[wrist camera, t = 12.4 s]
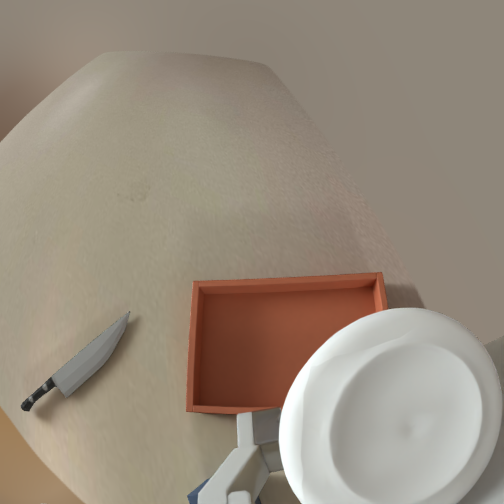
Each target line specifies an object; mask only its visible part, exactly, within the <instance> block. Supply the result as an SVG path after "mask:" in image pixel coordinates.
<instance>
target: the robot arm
mask: <svg viewBox="0 0 504 504" xmlns="http://www.w3.org/2000/svg"><path fill="white" fill-rule="evenodd" d="M281 413H282V412H281V408H280V407H274V408H269V409H263V410H257V411H252V412H246V413H239V414H238V415H237V435H238V448H235V449H233V450H232V452H231V453H230V454H229V456H228V457H227V458H226V460H225V461H224V462H223V463H222V465H221V466H220V467H219V469H218V470H217V471H216V472H215V474H214V475H213V476H212V477H211V479H210V480H209V481H208V482H207V483H206V485H205V486H204V487H203V488H202V489H201V491H200V492H199V493H198V504H255V500H256V499H257V497H258V495H259V493H260V491H261V490H262V488H263V486H264V484H265V482H266V480H267V478H268V477H269V475H270V473H271V472H276V471H280V470H284V468H283V464H282V460H281V454H280V447H279V426H280V418H281ZM457 504H504V392H502V418H501V426H500V431H499V436H498V439H497V442H496V445H495V448H494V451H493V454H492V456H491V458H490V461H489V463H488V465H487V466H486V468H485V470H484V471H483V473H482V474H481V476H480V477H479V479H478V481H477V482H476V483H475V484H474V486H473V487H472V488H471V489H470V491H469V492H468V493H467V494H466V495H465V496H464V497H463V498H462V499H461V500H460V501H459V502H458V503H457Z"/></svg>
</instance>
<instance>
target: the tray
mask: <svg viewBox="0 0 504 504" xmlns="http://www.w3.org/2000/svg"><path fill="white" fill-rule="evenodd" d="M383 310H388V304H387V297H386V291H385V285H384V280H383V274H382V272H377V273H360V274H344V275H327V276H308V277H288V278H265V279H240V280H211V281H193V289H192V302H191V315H190V331H189V347H188V367H187V392H186V412H198V413H215V414H239V413H246V412H252V411H257V410H263V409H269V408H274V407H280V408H281V412H282V409H283V406H284V403H285V400H286V397H287V395H288V392H289V390H290V388H291V386H292V384H293V382H294V380H295V379H296V377H297V375H298V374H299V372H300V371H301V369H302V368H303V367H304V365H305V364H306V363H307V361H308V360H309V359H310V358H311V357H312V355H313V354H314V353H315V352H316V351H317V350H318V349H319V348H320V347H321V346H322V345H323V344H324V343H325V342H326V341H327V340H328V339H329V338H331V337H332V336H333V335H334V334H335V333H337V332H338V331H340V330H341V329H343V328H345V327H346V326H348V325H349V324H351V323H353V322H355V321H357V320H358V319H360V318H363V317H365V316H367V315H371V314H374V313H377V312H380V311H383Z"/></svg>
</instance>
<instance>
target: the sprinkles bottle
mask: <svg viewBox="0 0 504 504" xmlns="http://www.w3.org/2000/svg"><path fill="white" fill-rule="evenodd" d="M501 418H502V391H501V386H500V381H499V377H498V373H497V370H496V368H495V365H494V363H493V361H492V359H491V357H490V355H489V353H488V352H487V350H486V349H485V347H484V346H483V344H482V343H481V341H480V340H479V339H478V338H477V337H476V336H475V335H474V334H473V333H472V332H471V331H470V330H469V329H468V328H466V327H465V326H464V325H462V324H461V323H460V322H458V321H457V320H455V319H453V318H450V317H448V316H446V315H444V314H442V313H439V312H435V311H432V310H427V309H422V308H395V309H388V310H383V311H380V312H377V313H374V314H371V315H367V316H365V317H363V318H360V319H358V320H357V321H355V322H353V323H351V324H349V325H348V326H346V327H345V328H343V329H341V330H340V331H338V332H337V333H335V334H334V335H333V336H332V337H331V338H329V339H328V340H327V341H326V342H325V343H324V344H323V345H322V346H321V347H320V348H319V349H318V350H317V351H316V352H315V353H314V354H313V355H312V357H311V358H310V359H309V360H308V361H307V363H306V364H305V365H304V367H303V368H302V369H301V371H300V372H299V374H298V375H297V377H296V379H295V380H294V382H293V384H292V386H291V388H290V390H289V392H288V395H287V397H286V400H285V403H284V406H283V409H282V413H281V418H280V426H279V447H280V454H281V460H282V464H283V468H284V471H285V474H286V477H287V480H288V482H289V484H290V486H291V488H292V490H293V492H294V493H295V495H296V496H297V498H298V499H299V501H300V502H301V503H302V504H457V503H458V502H459V501H460V500H461V499H462V498H463V497H464V496H465V495H466V494H467V493H468V492H469V491H470V489H471V488H472V487H473V486H474V484H475V483H476V482H477V481H478V479H479V477H480V476H481V474H482V473H483V471H484V470H485V468H486V466H487V465H488V463H489V461H490V458H491V456H492V454H493V451H494V448H495V445H496V442H497V439H498V436H499V431H500V426H501Z"/></svg>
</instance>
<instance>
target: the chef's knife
mask: <svg viewBox="0 0 504 504" xmlns="http://www.w3.org/2000/svg"><path fill="white" fill-rule="evenodd" d="M129 313H130V311H129V312H128V313H126V314H125V315H124V316H123V317H121V318H120V319H119V320H118V321H116V322H115V323H114V324H113V325H111V326H110V327H109V328H108V329H106V330H105V331H104V332H103V333H102V334H100V335H99V336H98V337H97V338H95V339H94V340H93V341H92V342H91V343H89V344H88V345H87V346H86V347H85V348H84V349H82V350H81V351H80V352H79V353H78V354H77V355H75V356H74V357H73V358H72V359H71V360H70V361H68V362H67V363H66V364H65V365H64V366H63V367H62V368H60V369H59V370H58V371H57V372H56V373H55V374H53V375H52V377H50V378H49V379H48V380H47V381H46V382H45V383H44V384H43V385H42V386H41V387H40V388H39V389H37V390H36V391H35V392H34V393H33V394H32V395H31V396H30V397H28V398H27V399H26V400H25V401H24V402H23V403H22V405H21V408H22V410H24V411H30V408H31V407H32V406H33V404H34V403H35V402H36V401H37V400H38V399H39V398H40V397H41V396H43V395H44V394H45V393H47V392H48V391H50V390H51V389H52V388H54V387H58V388H59V390H60V391H61V392H62V393H63V394H64V395H65V397H66V398H67V397H68V396H69V395H70V394H72V393H73V392H74V391H75V390H76V389H77V388H78V387H79V386H80V385H82V384H83V383H84V382H85V381H86V380H87V379H88V378H89V377H91V376H92V375H93V374H94V373H95V372H96V371H97V370H98V369H99V368H101V367H102V365H103V364H104V363H105V362H106V361H107V360H108V358H109V357H110V356H111V354H112V352H113V350H114V349H115V347H116V345H117V343H118V341H119V340H120V338H121V336H122V334H123V333H124V331H125V329H126V325H127V321H128V317H129Z"/></svg>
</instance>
